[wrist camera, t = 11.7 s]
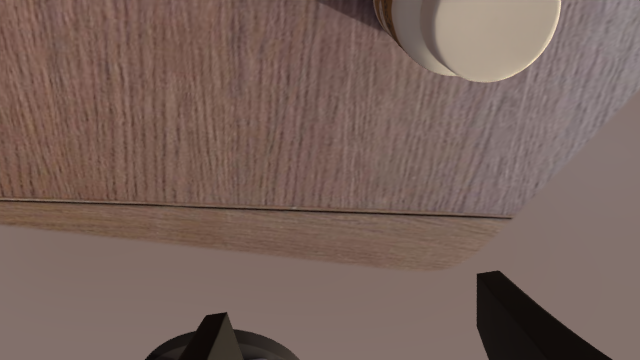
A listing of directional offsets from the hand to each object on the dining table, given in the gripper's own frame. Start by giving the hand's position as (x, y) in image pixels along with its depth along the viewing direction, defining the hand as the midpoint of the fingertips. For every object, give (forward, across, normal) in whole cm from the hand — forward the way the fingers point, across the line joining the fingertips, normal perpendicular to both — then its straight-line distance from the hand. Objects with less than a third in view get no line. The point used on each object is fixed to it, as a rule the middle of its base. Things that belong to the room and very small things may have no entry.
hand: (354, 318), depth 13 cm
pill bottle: (+11, -5, -7) cm, 14 cm away
